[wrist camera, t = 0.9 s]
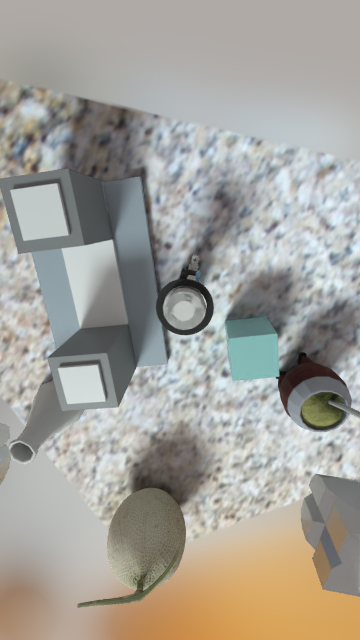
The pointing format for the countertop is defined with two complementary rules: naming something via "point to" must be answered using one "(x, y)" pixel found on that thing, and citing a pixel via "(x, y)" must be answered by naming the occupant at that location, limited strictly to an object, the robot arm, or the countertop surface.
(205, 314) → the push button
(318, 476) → the robot arm
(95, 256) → the gray block stand
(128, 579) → the fruit
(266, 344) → the block
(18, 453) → the flask
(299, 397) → the mate gourd
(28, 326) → the countertop surface
